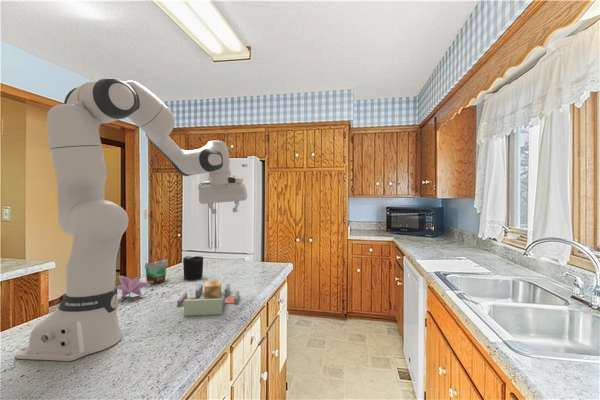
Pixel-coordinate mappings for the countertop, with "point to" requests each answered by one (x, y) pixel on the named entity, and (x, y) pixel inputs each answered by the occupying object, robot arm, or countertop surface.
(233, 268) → the countertop surface
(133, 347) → the countertop surface
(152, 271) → the food container
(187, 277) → the pen holder
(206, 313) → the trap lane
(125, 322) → the countertop surface
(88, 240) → the robot arm
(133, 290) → the lily
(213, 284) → the honey block
